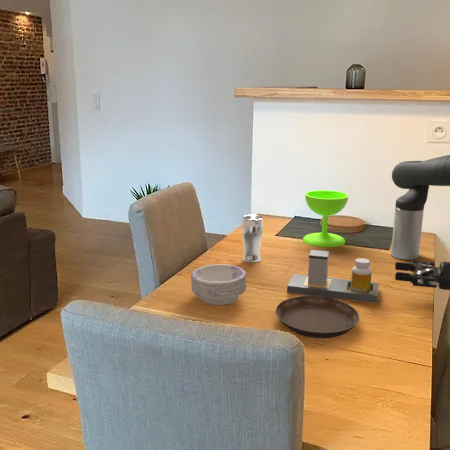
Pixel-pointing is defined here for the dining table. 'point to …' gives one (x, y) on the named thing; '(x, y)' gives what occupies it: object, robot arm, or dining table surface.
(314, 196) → the wineglass
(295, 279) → the gray slotted tray
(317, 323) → the plant saucer
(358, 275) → the supplement bottle
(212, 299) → the paper bowls
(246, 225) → the beer glass
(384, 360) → the dining table surface
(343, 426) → the dining table surface
